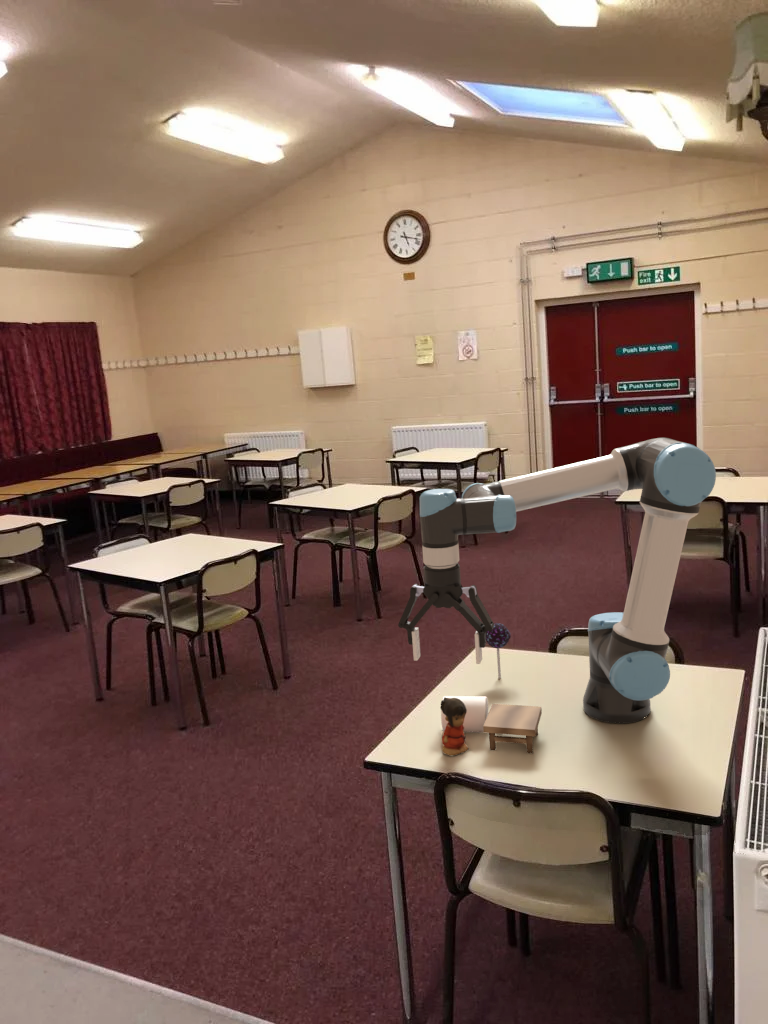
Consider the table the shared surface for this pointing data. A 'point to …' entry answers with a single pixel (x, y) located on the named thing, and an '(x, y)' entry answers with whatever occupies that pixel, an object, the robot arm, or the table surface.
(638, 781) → the table surface
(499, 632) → the lollipop
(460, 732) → the figurine
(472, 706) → the mug
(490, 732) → the tan legged square part
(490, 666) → the table surface
